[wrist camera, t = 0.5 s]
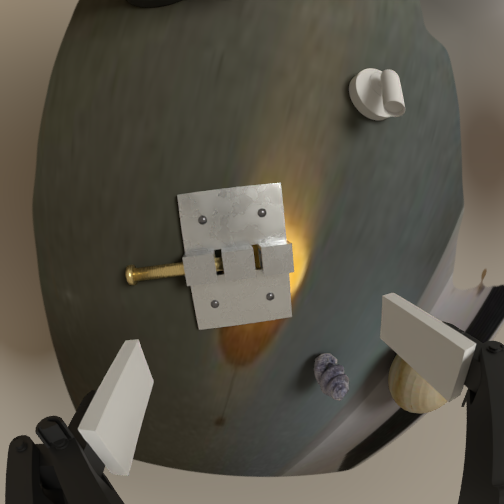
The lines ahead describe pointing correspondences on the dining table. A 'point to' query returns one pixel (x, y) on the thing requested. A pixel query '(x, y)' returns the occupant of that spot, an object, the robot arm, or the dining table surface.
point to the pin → (160, 271)
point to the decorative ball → (412, 389)
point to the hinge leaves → (236, 254)
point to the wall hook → (377, 94)
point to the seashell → (331, 376)
